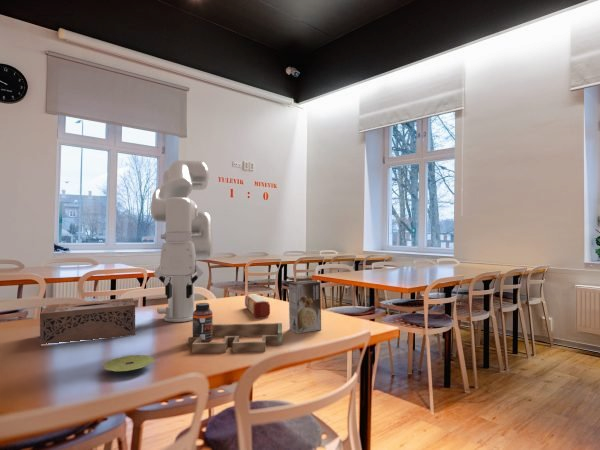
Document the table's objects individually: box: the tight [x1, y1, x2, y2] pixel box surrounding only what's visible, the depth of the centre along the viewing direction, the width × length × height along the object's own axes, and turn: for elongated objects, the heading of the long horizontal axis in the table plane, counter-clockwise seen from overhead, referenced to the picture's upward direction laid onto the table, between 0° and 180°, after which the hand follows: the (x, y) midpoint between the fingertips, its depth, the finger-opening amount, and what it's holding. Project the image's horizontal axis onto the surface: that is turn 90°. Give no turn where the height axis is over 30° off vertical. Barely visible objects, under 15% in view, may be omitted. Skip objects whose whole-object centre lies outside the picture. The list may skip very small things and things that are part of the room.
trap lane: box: [187, 322, 283, 354], centre depth 114 cm, size 27×17×4 cm, turn 93°
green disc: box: [102, 354, 155, 372], centre depth 93 cm, size 11×11×2 cm
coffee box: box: [288, 279, 322, 334], centre depth 128 cm, size 9×6×16 cm
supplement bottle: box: [192, 302, 214, 343], centre depth 117 cm, size 6×6×11 cm
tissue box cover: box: [39, 297, 136, 345], centre depth 125 cm, size 26×14×10 cm, turn 117°
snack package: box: [244, 293, 271, 319], centre depth 155 cm, size 21×7×7 cm, turn 18°
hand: (179, 297), depth 116 cm, fingers open, 5 cm apart
